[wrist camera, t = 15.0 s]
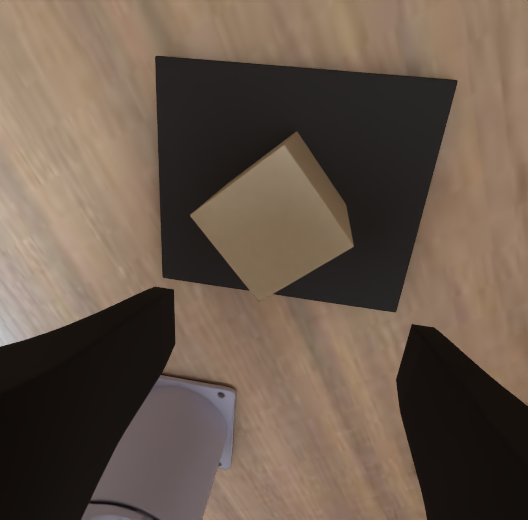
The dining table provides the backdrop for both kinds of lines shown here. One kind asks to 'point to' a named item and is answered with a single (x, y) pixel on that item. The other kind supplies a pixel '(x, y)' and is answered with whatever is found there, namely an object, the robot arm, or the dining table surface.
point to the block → (277, 219)
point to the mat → (323, 149)
